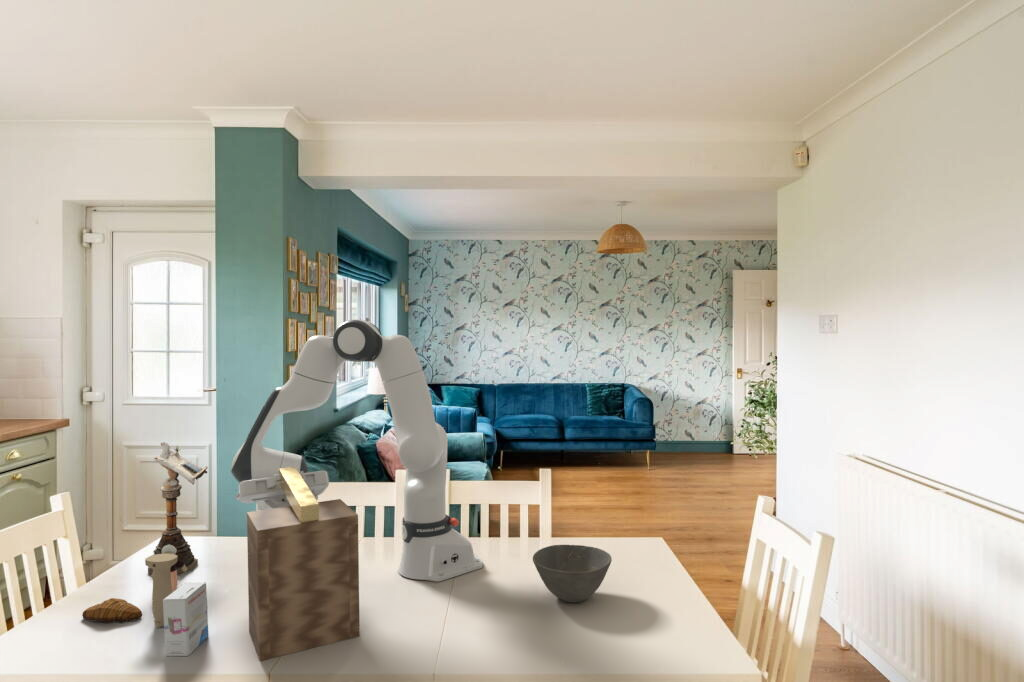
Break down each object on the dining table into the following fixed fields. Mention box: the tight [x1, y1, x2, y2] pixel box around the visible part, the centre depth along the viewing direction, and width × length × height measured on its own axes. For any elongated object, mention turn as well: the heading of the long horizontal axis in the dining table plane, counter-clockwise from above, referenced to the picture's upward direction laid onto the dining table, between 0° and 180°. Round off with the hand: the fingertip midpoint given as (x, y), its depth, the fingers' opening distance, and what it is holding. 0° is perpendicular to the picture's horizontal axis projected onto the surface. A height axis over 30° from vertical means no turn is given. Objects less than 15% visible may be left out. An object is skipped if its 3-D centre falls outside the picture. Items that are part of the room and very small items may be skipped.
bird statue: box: [147, 441, 208, 576], centre depth 177 cm, size 17×13×35 cm
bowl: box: [532, 544, 613, 603], centre depth 157 cm, size 19×19×10 cm
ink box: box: [163, 581, 209, 657], centre depth 134 cm, size 9×5×12 cm, turn 178°
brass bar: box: [279, 467, 319, 523], centre depth 142 cm, size 4×23×4 cm, turn 30°
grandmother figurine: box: [150, 544, 187, 593], centre depth 158 cm, size 8×4×13 cm, turn 131°
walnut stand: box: [246, 498, 361, 662], centre depth 139 cm, size 20×14×26 cm
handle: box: [144, 554, 177, 629], centre depth 144 cm, size 5×6×15 cm
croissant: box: [82, 597, 143, 624], centre depth 147 cm, size 14×7×5 cm, turn 86°
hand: (289, 475), depth 150 cm, fingers closed on brass bar, 4 cm apart
